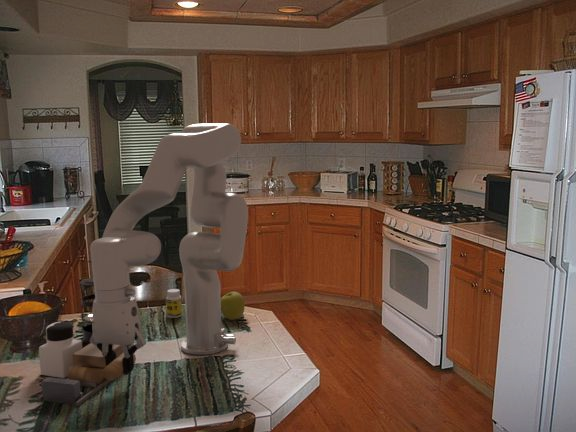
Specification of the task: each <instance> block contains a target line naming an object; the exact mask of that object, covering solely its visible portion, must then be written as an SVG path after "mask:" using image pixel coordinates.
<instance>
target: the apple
mask: <svg viewBox="0 0 576 432" xmlns="http://www.w3.org/2000/svg"><path fill="white" fill-rule="evenodd" d="M245 306H246V305H245V300H244V297H243V295H242V294H241V293H239V292H237V291H234V289H232V290H231V291H230V292H228V293H226V294H224V295H223V296H222V297H221V314H222V315H223V317H225V319H227V320H230V321H233V320H241V318H242V316H243V315H244V312H245Z"/></svg>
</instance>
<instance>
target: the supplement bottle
mask: <svg viewBox="0 0 576 432" xmlns="http://www.w3.org/2000/svg"><path fill="white" fill-rule="evenodd" d="M166 292H167V293H166V295H167V296H166V297H165V300H166V301H165V304H166V316H167V318H170V319H175V318H179V317H182V314H183V313H182V312H183V311H182V310H183V309H182V296H181V290H180V289H179V288H171V289H167V290H166Z"/></svg>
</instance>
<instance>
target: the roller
mask: <svg viewBox="0 0 576 432" xmlns="http://www.w3.org/2000/svg"><path fill="white" fill-rule="evenodd" d="M123 358H124V353H122V354H121V355H120V356H118V357H117V358H116V359H115V360H113V361H112V362H111V363H110V364H108V365H107V366H106V367H105V368H104V369H103V374H104V377H105V378H106V379H107V380H110V382H111V381H115V380H116V379H118V378H119V377H120V376H121V375H122V374H124V372H123V370H124V369H123V362H122V359H123ZM133 359H134V364H135V363H136V360H137V357H136V355H135V353H134V354H133Z"/></svg>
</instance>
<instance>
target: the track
mask: <svg viewBox="0 0 576 432" xmlns="http://www.w3.org/2000/svg"><path fill="white" fill-rule="evenodd" d="M105 367H106V366H105ZM105 367H95V366H85V365H81V366H72V367H71V368H70V369H69V371H68V376H67V377H65V379H68V380H77V381H80V387H87V388H88V387H90V388H93V389H91V390H90V391H89V392H87V393H86V394H84V392H81V391H80V394H81V398H80V399H79V400H78V401H76V402H75V405H74V406H76V407H79V406H80V405H81V404H83V403H84V402H86V401H87V400H88V399H90V398H91V397H92V396H94V395H95V394H96V393H97V392H98V391H100V390H102V389H103V387H105V386H107V385H108V384H109V383H111V381H110V380H107V379H106V378H105V377H104V374H103V369H104V368H105ZM42 401H43V393H42V394H40V396H38V397H37V402H42Z"/></svg>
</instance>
